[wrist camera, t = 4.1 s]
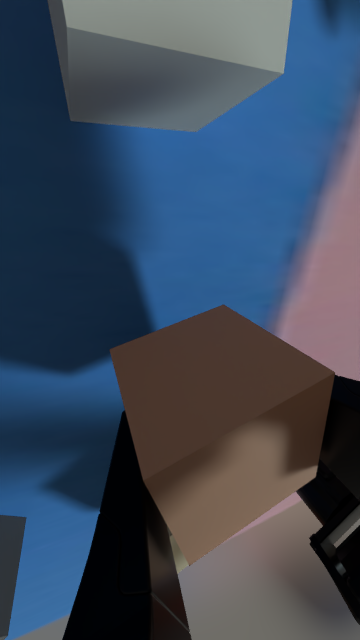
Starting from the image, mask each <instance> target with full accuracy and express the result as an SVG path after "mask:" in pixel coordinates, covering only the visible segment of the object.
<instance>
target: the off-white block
mask: <svg viewBox="0 0 360 640" xmlns="http://www.w3.org/2000/svg"><path fill="white" fill-rule="evenodd" d="M47 1H48V6H49V11H50V17H51V22H52V27H53V32H54V37H55V43H56V48H57V53H58V58H59V64H60V69H61V74H62V79H63V85H64V90H65V95H66V100H67V105H68V111H69V116H70V121H76V122H87V123H99V124H110V125H121V126H133V127H144V128H155V129H167V130H178V131H190V132H197V131H198V130H200V129H201V128H203V127H204V126H206V125H207V124H209V123H210V122H212V121H213V120H215V119H216V118H218V117H219V116H221V115H222V114H224V113H225V112H227V111H228V110H230V109H231V108H233V107H234V106H236V105H237V104H239V103H240V102H242V101H243V100H245V99H246V98H248V97H249V96H251V95H252V94H254V93H255V92H257V91H258V90H260V89H261V88H263V87H264V86H266V85H267V84H269V83H270V82H272V81H273V80H275V79H276V78H278V77H279V76H281V75H282V74H284V66H285V57H286V49H287V41H288V32H289V24H290V16H291V7H292V0H47Z"/></svg>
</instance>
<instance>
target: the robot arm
mask: <svg viewBox="0 0 360 640" xmlns="http://www.w3.org/2000/svg"><path fill="white" fill-rule="evenodd" d="M296 492H297V494H298V495H299V496H300V497H301V499H302V500H303V501H304V502H305V504H306V505H307V506H308V507H309V509H310V510H311V511H312V512H313V514H314V515H315V516H316V517H317V519H318V520H319V521H320V522H321V524H322V525H323V527H322V528H321V529H320V530H319V531H318V532H317V533H316V534H313V535H312V536H311V537H310V538H309V539H310V540H311V543H310V546H311V547H312V548H313V550H314V551H315V553H316V554H317V555H318V557H319V558H320V560H321V561H322V563H323V564H324V565H325V567H326V569H327V570H328V572H329V574H330V576H331V577H332V579H333V581H334V583H335V585H336V586H337V588H338V590H339V592H340V593H341V595H342V597H343V599H344V601H345V602H346V604H347V606H348V608H349V610H350V611H351V613H352V615H353V617H354V618H355V620H356V621H357V623H358V624H359V625H360V525H359V526H358V527H357V528H356V529H355V530H354V531H353V532H352V533H351V534H350V535H349V536H348V537H347V538H346V539H345V540H344V541H343V542H342V543H341V544H340V545H339V546H338V547H337V548H336V547H335V546H334V545H333V544H334V543H335V542H336V541H337V540H338V539H339V538H340V537H341V536H342V535H343V534H344V533H345V532H346V531H347V530H348V529H349V528H350V527H351V526H352V525H353V524H354V523H355V522H356V521H357V520H358V519H359V518H360V381H356V380H353V379H349V378H345V377H342V376H338V375H335V376H334V382H333V387H332V392H331V398H330V403H329V408H328V414H327V419H326V424H325V430H324V435H323V440H322V446H321V451H320V456H319V462H318V467H317V472H316V477H315V478H314V479H312V480H311V481H309V482H308V483H307V484H305V485H304V486H302V487H301V488H299V489H298V490H297V491H296ZM189 632H190V630H189V626H188V621H187V616H186V611H185V607H184V602H183V597H182V593H181V588H180V583H179V579H178V574H177V570H176V565H175V560H174V556H173V551H172V546H171V542H170V537H169V532H168V528H167V524H166V522H165V520H164V518H163V516H162V514H161V512H160V511H159V509H158V507H157V505H156V503H155V501H154V500H153V498H152V496H151V494H150V492H149V490H148V488H147V487H146V485H145V483H144V481H143V478H142V474H141V470H140V466H139V462H138V458H137V454H136V450H135V447H134V443H133V439H132V435H131V431H130V427H129V423H128V419H127V415H126V412H125V410H124V411H123V412H122V415H121V420H120V424H119V428H118V433H117V437H116V441H115V446H114V450H113V454H112V459H111V463H110V468H109V472H108V476H107V481H106V485H105V489H104V494H103V498H102V502H101V507H100V514H99V515H98V519H97V524H96V528H95V532H94V536H93V540H92V544H91V548H90V552H89V556H88V559H87V562H86V566H85V569H84V572H83V576H82V579H81V582H80V585H79V589H78V592H77V595H76V598H75V601H74V604H73V608H72V611H71V614H70V617H69V620H68V623H67V627H66V630H65V633H64V636H63V639H62V640H192V639H191V635H190V633H189Z"/></svg>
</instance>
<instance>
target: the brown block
mask: <svg viewBox="0 0 360 640" xmlns="http://www.w3.org/2000/svg"><path fill="white" fill-rule="evenodd" d="M109 350H110V353H111V357H112V361H113V365H114V369H115V373H116V377H117V381H118V384H119V388H120V392H121V396H122V400H123V404H124V408H125V412H126V415H127V419H128V423H129V427H130V431H131V435H132V439H133V443H134V447H135V450H136V454H137V458H138V462H139V466H140V470H141V474H142V478H143V481H144V483H145V485H146V487H147V488H148V490H149V492H150V494H151V496H152V498H153V500H154V501H155V503H156V505H157V507H158V509H159V511H160V512H161V514H162V516H163V518H164V520H165V522H166V524H167V525H168V527H169V529H170V531H171V533H172V535H173V537H174V538H175V540H176V542H177V544H178V546H179V548H180V549H181V551H182V553H183V555H184V557H185V559H186V561H187V562H188V564H189V566H190V565H191V564H193V563H194V562H196V561H197V560H198V559H200V558H201V557H203V556H204V555H206V554H207V553H208V552H210V551H211V550H213V549H214V548H216V547H217V546H218V545H220V544H221V543H223V542H224V541H225V540H227V539H228V538H230V537H231V536H233V535H234V534H235V533H237V532H238V531H240V530H241V529H243V528H244V527H245V526H247V525H248V524H250V523H251V522H252V521H254V520H255V519H257V518H258V517H260V516H261V515H262V514H264V513H265V512H267V511H268V510H270V509H271V508H272V507H274V506H275V505H277V504H278V503H280V502H281V501H282V500H284V499H285V498H287V497H288V496H289V495H291V494H292V493H294V492H295V491H297V490H298V489H299V488H301V487H302V486H304V485H305V484H307V483H308V482H309V481H311V480H312V479H314V478H315V477H316V472H317V467H318V462H319V456H320V451H321V446H322V440H323V435H324V430H325V424H326V419H327V414H328V408H329V403H330V398H331V392H332V387H333V382H334V376H335V372H334V371H332V370H330V369H329V368H327V367H325V366H324V365H322V364H320V363H319V362H317V361H316V360H314V359H312V358H311V357H309V356H307V355H306V354H304V353H302V352H301V351H299V350H297V349H296V348H294V347H293V346H291V345H289V344H288V343H286V342H284V341H283V340H281V339H279V338H278V337H276V336H274V335H273V334H271V333H270V332H268V331H266V330H265V329H263V328H261V327H260V326H258V325H256V324H255V323H253V322H251V321H250V320H248V319H247V318H245V317H243V316H242V315H240V314H238V313H237V312H235V311H233V310H232V309H230V308H228V307H227V306H225V305H221V306H219V307H216V308H214V309H211V310H208V311H206V312H203V313H201V314H198V315H196V316H193V317H191V318H188V319H186V320H183V321H180V322H178V323H175V324H173V325H170V326H168V327H165V328H163V329H160V330H157V331H155V332H152V333H150V334H147V335H145V336H142V337H140V338H137V339H135V340H132V341H129V342H127V343H124V344H122V345H119V346H117V347H114V348H112V349H109Z"/></svg>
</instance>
